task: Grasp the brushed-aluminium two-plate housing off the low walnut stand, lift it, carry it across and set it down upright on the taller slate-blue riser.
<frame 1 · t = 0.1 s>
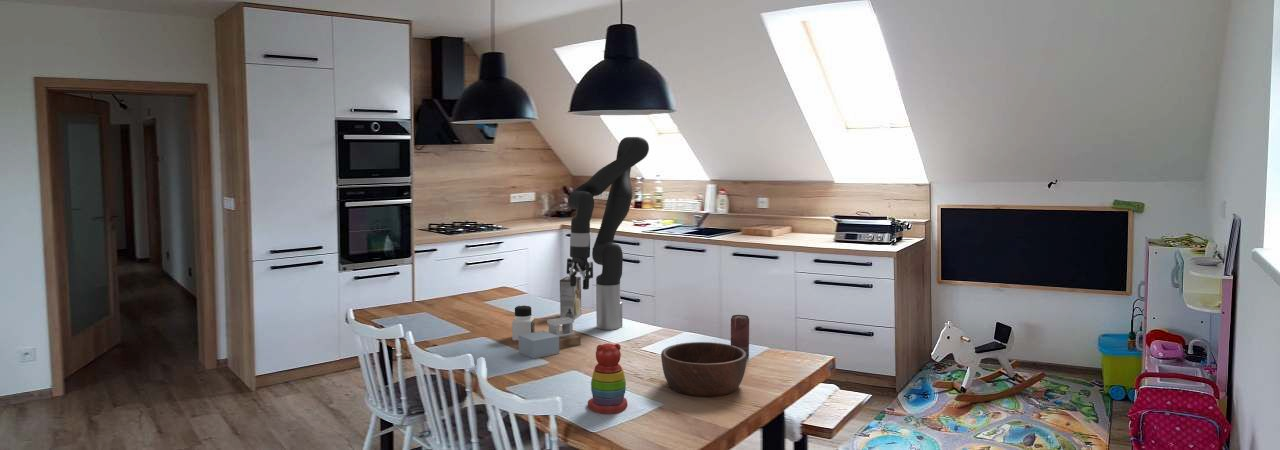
hand: (579, 287, 293), 17 cm above the table, tool pointing down, fingers open, 8 cm apart
stand a: (560, 344, 278), on the table
can: (739, 358, 260), on the table
housing: (560, 336, 278), point 3 cm above the table, touching stand a
coffee box: (571, 317, 322), on the table
stand b: (538, 352, 267), on the table
wooden bowl: (703, 387, 230), on the table
stacking bear: (608, 408, 211), on the table
medicine bottle: (523, 338, 287), on the table
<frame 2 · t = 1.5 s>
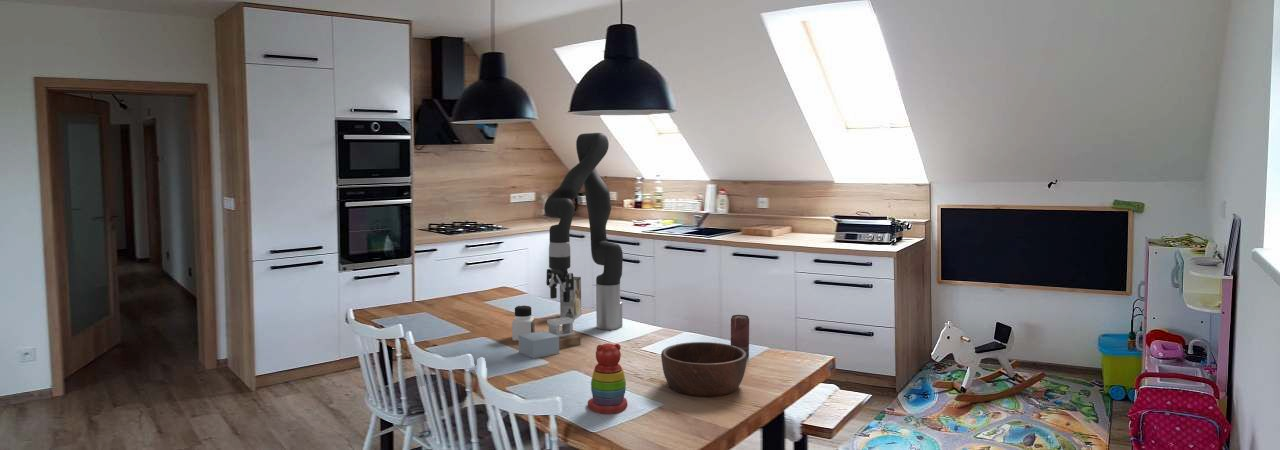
hand: (559, 300, 277), 16 cm above the table, tool pointing down, fingers open, 8 cm apart
nothing on the table moved.
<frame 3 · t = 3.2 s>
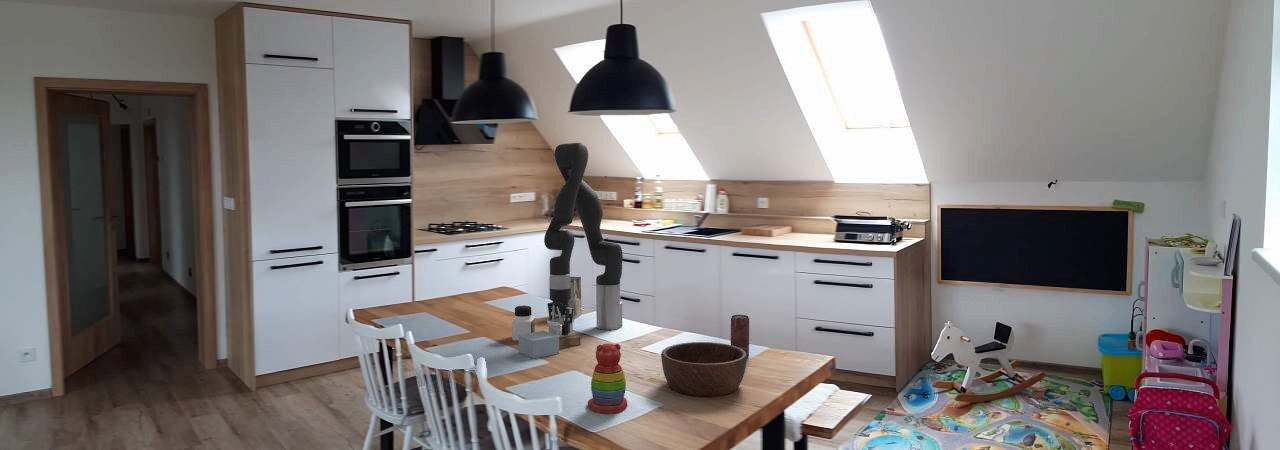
hand: (560, 333, 278), 4 cm above the table, tool pointing down, fingers closed on housing, 5 cm apart
housing: (560, 336, 278), point 3 cm above the table, touching gripper, stand a
everything else where it was.
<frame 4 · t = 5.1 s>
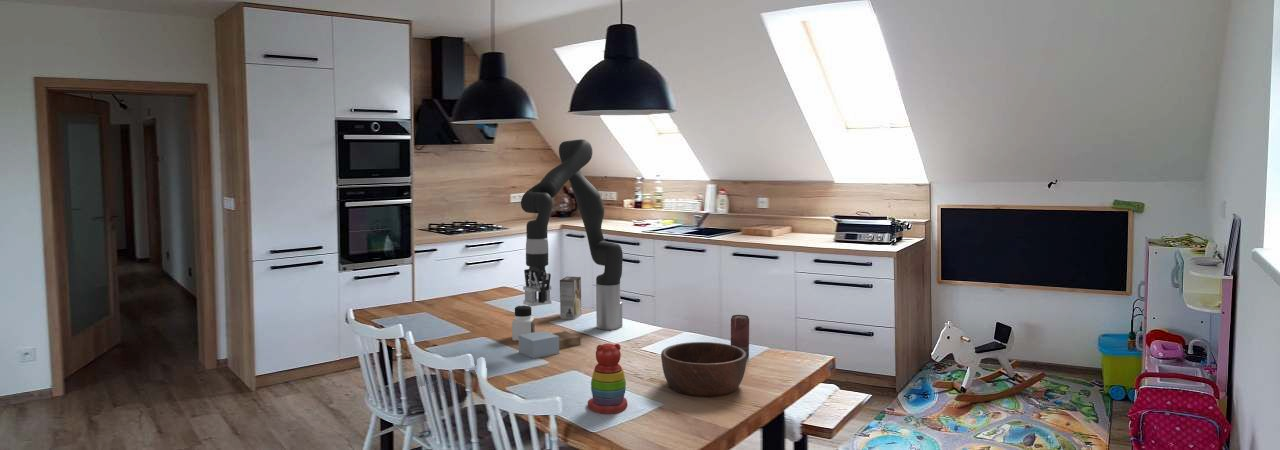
hand: (537, 301, 265), 18 cm above the table, tool pointing down, fingers closed on housing, 5 cm apart
housing: (537, 303, 265), point 17 cm above the table, touching gripper
everything else where it was.
when the fingers open (8 cm above the table, at t = 7.2 s): housing drops 1 cm, resting on stand b.
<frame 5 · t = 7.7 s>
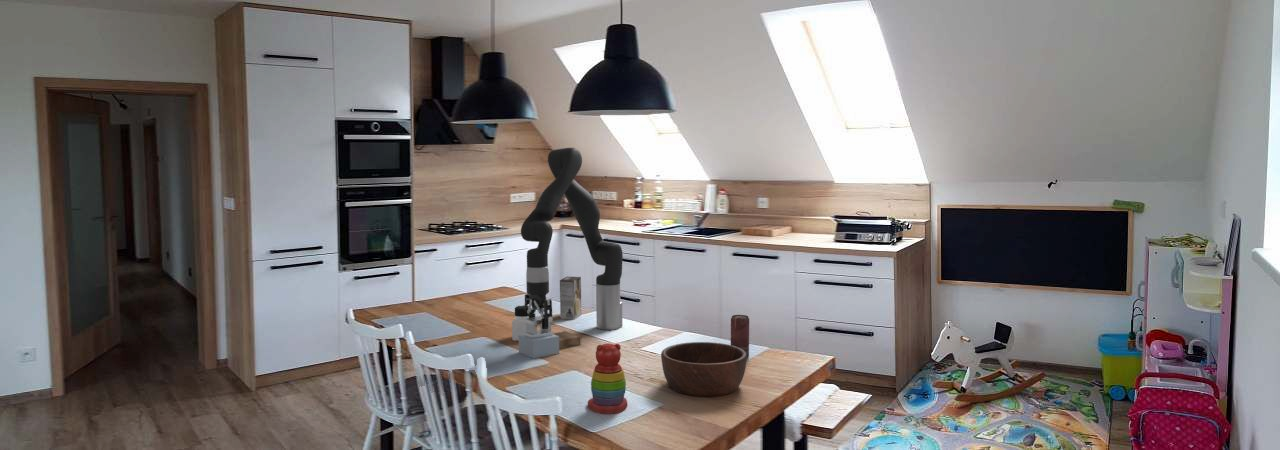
hand: (538, 326, 266), 9 cm above the table, tool pointing down, fingers open, 8 cm apart
housing: (538, 335, 266), point 6 cm above the table, touching stand b
everything else where it was.
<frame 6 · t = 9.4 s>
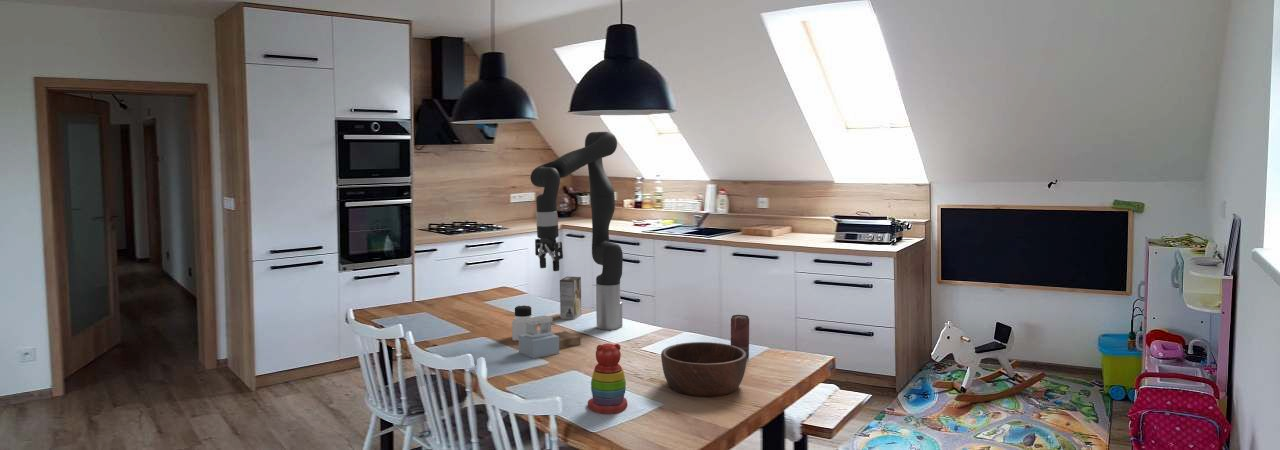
hand: (549, 269, 277), 27 cm above the table, tool pointing down, fingers open, 8 cm apart
nothing on the table moved.
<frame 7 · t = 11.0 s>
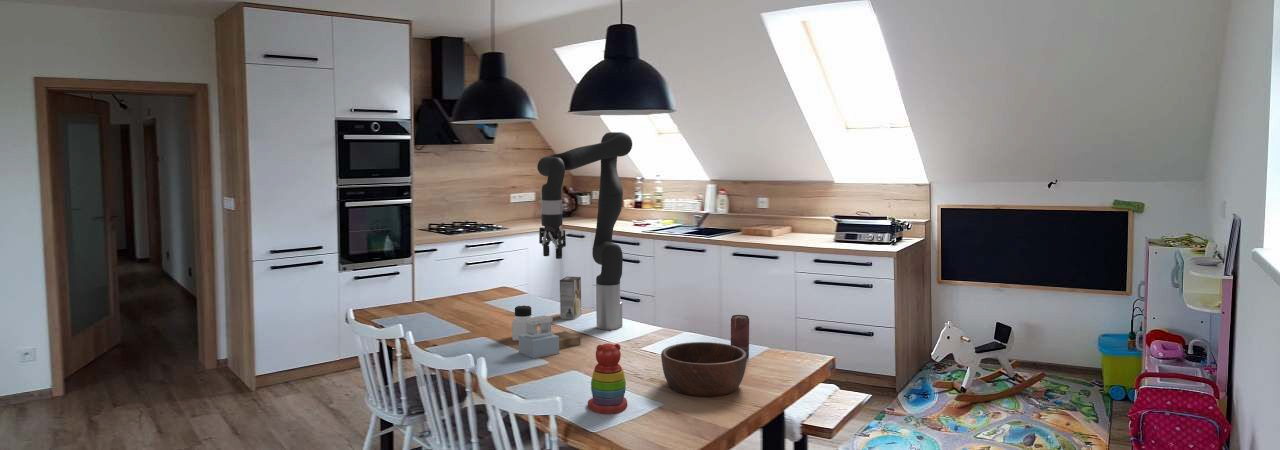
hand: (552, 257, 282), 30 cm above the table, tool pointing down, fingers open, 8 cm apart
nothing on the table moved.
at the end: housing inside the target area on the stand b (0.1 cm from its centre), point 6.0 cm above the stand b's base; housing tilted 0°; the gripper is holding nothing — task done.
